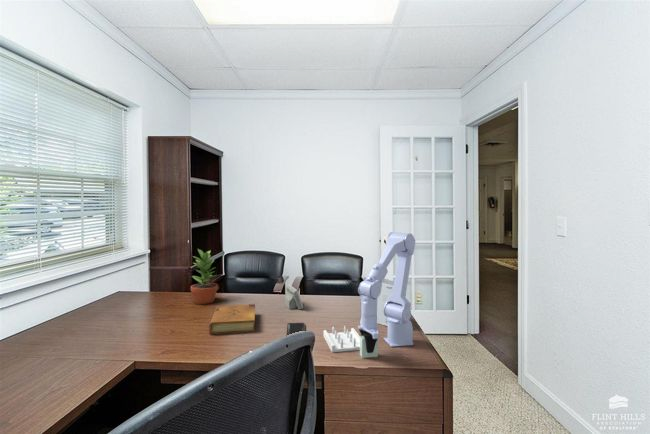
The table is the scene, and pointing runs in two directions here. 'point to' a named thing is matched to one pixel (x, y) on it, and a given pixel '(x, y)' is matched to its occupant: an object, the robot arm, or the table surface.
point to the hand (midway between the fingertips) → (368, 350)
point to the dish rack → (342, 340)
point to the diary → (233, 319)
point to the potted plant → (204, 280)
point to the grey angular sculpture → (292, 298)
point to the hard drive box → (384, 300)
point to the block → (364, 351)
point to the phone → (295, 327)
